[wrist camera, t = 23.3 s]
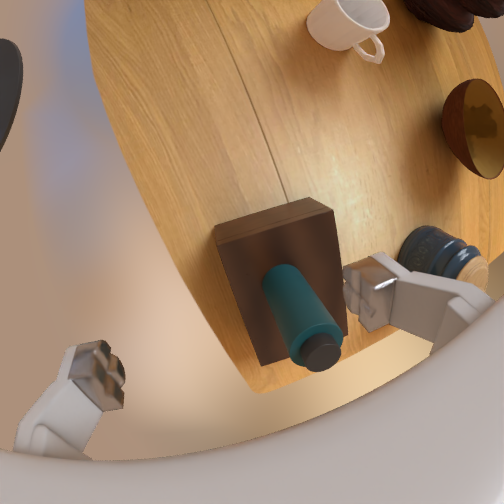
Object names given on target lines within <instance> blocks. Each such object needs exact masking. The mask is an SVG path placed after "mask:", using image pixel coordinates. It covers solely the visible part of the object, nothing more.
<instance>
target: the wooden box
mask: <svg viewBox="0 0 504 504" xmlns="http://www.w3.org/2000/svg"><path fill="white" fill-rule="evenodd" d="M214 227H215V236H216V244H217V249H218V251H219V254H220V257H221V260H222V263H223V266H224V268H225V271H226V274H227V277H228V280H229V282H230V285H231V288H232V291H233V294H234V296H235V299H236V302H237V304H238V307H239V310H240V313H241V315H242V318H243V321H244V323H245V326H246V329H247V331H248V334H249V336H250V339H251V342H252V344H253V347H254V349H255V352H256V355H257V357H258V360H259V362H260V365H261V366H265V365H268V364H271V363H274V362H277V361H280V360H283V359H286V358H289V357H290V356H289V353H288V351H287V348H286V346H285V343H284V341H283V338H282V336H281V334H280V331H279V329H278V326H277V324H276V321H275V319H274V316H273V314H272V311H271V309H270V306H269V304H268V301H267V299H266V296H265V294H264V291H263V288H262V282H263V279H264V277H265V275H266V273H267V272H268V271H269V270H270V269H272V268H273V267H275V266H277V265H281V264H289V265H292V266H294V267H296V268H297V269H298V270H299V271H300V273H301V274H302V275H303V277H304V278H305V279H306V281H307V282H308V284H309V285H310V286H311V288H312V289H313V291H314V292H315V293H316V295H317V296H318V298H319V299H320V300H321V302H322V303H323V305H324V306H325V308H326V309H327V310H328V312H329V313H330V315H331V316H332V317H333V319H334V320H335V322H336V323H337V325H338V326H339V327H340V329H341V331H342V333H343V337H345V336H347V335H348V326H347V313H346V304H345V302H344V298H343V291H342V288H343V286H344V282H343V277H342V265H341V257H340V250H339V243H338V236H337V229H336V223H335V217H334V211H333V209H331V208H329V207H327V206H325V205H323V204H322V203H320V202H318V201H316V200H314V199H312V198H310V197H308V198H304V199H301V200H297V201H294V202H290V203H287V204H284V205H280V206H277V207H273V208H270V209H267V210H264V211H260V212H257V213H254V214H250V215H247V216H244V217H241V218H238V219H234V220H231V221H228V222H225V223H222V224H219V225H216V226H214Z"/></svg>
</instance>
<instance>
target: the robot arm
mask: <svg viewBox="0 0 504 504" xmlns="http://www.w3.org/2000/svg"><path fill="white" fill-rule="evenodd" d="M342 277H343V278H344V279H345V280H346V282H345V284H344V286H343V288H342V291H343V298H344V302H345V304H346V306H347V308H348V309H349V310H350V312H351V313H354V314H357V315H359V319H358V321H359V322H360V323H361V324H362V326H363V327H364V328H365V329H366V330H367V331H368V332H369V333H370V332H372V331H374V330H376V329H378V328H380V327H382V326H385V325H387V324H390V325H392V326H394V327H397V328H399V329H402V330H404V331H406V332H409V333H411V334H413V335H416V336H418V337H421V338H423V339H425V340H428V341H430V342H433V343H434V344H433V346H432V349H431V352H430V355H429V356H428V357H427V358H426V359H424V360H423V361H421V362H420V363H418V364H417V365H415V366H414V367H412V368H410V369H409V370H407V371H406V372H404V373H402V374H401V375H399V376H397V377H396V378H394V379H392V380H391V381H389V382H387V383H385V384H384V385H382V386H380V387H378V388H376V389H374V390H373V391H371V392H369V393H367V394H365V395H363V396H361V397H359V398H357V399H355V400H353V401H351V402H349V403H347V404H345V405H342V406H340V407H338V408H336V409H334V410H332V411H329V412H327V413H325V414H322V415H320V416H317V417H315V418H313V419H310V420H307V421H305V422H302V423H300V424H297V425H294V426H291V427H289V428H286V429H283V430H280V431H277V432H274V433H271V434H268V435H265V436H261V437H258V438H254V439H251V440H247V441H244V442H240V443H236V444H232V445H228V446H223V447H219V448H215V449H210V450H205V451H200V452H194V453H188V454H182V455H175V456H167V457H159V458H149V459H137V460H115V461H114V460H113V461H93V460H92V459H91V458H90V457H88V456H87V455H85V454H84V453H82V452H83V450H84V449H85V447H86V445H87V442H88V441H89V439H90V437H91V435H92V433H93V431H94V429H95V428H96V425H97V424H98V422H99V420H100V418H101V416H102V414H103V412H104V411H111V410H117V409H123V403H124V392H123V391H122V389H121V387H122V386H123V385H124V383H125V371H124V367H123V365H122V363H121V361H120V360H119V358H118V357H117V356H115V355H113V354H111V353H110V352H111V347H110V346H109V345H108V343H107V342H106V341H104V340H98V341H94V342H89V343H84V344H80V345H75V346H70V347H68V348H67V349H66V352H65V354H64V357H63V360H62V363H61V366H60V369H59V373H58V376H57V380H56V381H54V382H52V383H51V384H50V386H49V387H48V388H47V389H46V390H45V392H44V393H43V394H42V395H41V396H40V398H39V399H38V400H37V401H36V402H35V403H34V405H33V406H32V407H31V408H30V409H29V411H28V412H27V413H26V414H25V416H24V417H23V418H22V419H21V421H20V422H19V424H18V428H17V432H16V437H15V442H14V447H13V451H8V450H4V449H0V504H504V294H503V295H502V296H501V297H500V298H499V299H498V300H497V301H494V300H493V299H492V298H491V297H489V296H488V295H487V294H485V293H484V292H483V291H482V290H480V289H479V288H478V287H476V286H475V285H474V284H472V283H468V282H463V281H459V280H454V279H450V278H445V277H440V276H435V275H431V274H426V273H421V272H416V271H413V272H409V271H408V270H407V269H405V268H404V267H403V266H401V265H400V264H399V263H397V262H396V261H395V260H393V259H392V258H390V257H389V256H388V255H386V254H385V253H384V252H378V253H375V254H373V255H370V256H368V257H367V258H364V259H362V260H359V261H356V262H354V263H351V264H348V265H346V266H343V270H342Z"/></svg>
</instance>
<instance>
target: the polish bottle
mask: <svg viewBox="0 0 504 504" xmlns="http://www.w3.org/2000/svg"><path fill="white" fill-rule="evenodd" d="M262 288H263V291H264V294H265V296H266V299H267V301H268V304H269V306H270V309H271V311H272V314H273V316H274V319H275V321H276V324H277V326H278V329H279V331H280V334H281V336H282V338H283V341H284V343H285V346H286V348H287V351H288V353H289V356H290V358H291V360H292V361H293V362H294V363H295V364H297V365H299V366H303V367H306V368H307V369H308V370H310V371H312V372H321V371H324V370H326V369H329V368H331V367H332V366H333V365H335V364H336V363H337V361H338V360H339V358H340V356H341V349H340V347H341V345H342V342H343V333H342V331H341V329H340V327H339V326H338V325H337V323H336V322H335V320H334V319H333V317H332V316H331V315H330V313H329V312H328V310H327V309H326V308H325V306H324V305H323V303H322V302H321V300H320V299H319V298H318V296H317V295H316V293H315V292H314V291H313V289H312V288H311V286H310V285H309V284H308V282H307V281H306V279H305V278H304V277H303V275H302V274H301V273H300V271H299V270H298V269H297V268H296V267H294V266H292V265H289V264H281V265H277V266H275V267H273V268H272V269H270V270H269V271H268V272H267V273H266V275H265V277H264V279H263V282H262Z"/></svg>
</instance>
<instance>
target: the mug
mask: <svg viewBox="0 0 504 504" xmlns="http://www.w3.org/2000/svg"><path fill="white" fill-rule="evenodd" d="M389 23H390V16H389V12H388V9H387V7H386V6H385V4H384V3H383V1H382V0H322V1H321V2H320V3H319V4H318V5H317V6H316V7H315V8H314V9H313V10H312V11H311V13H310V14H309V15H308V17H307V22H306V24H307V28H308V31H309V33H310V34H311V36H312V37H313V38H314V39H315V40H316V41H317V42H318V43H319V44H321V45H322V46H324V47H325V48H328V49H331V50H336V51H343V50H347V49H349V48H351V47H353V48H354V49H355V50H356V52H357V53H358V54H359V55H360V56H361V57H362V58H363V59H364V60H366V61H370V62H373V63H377V64H380V63H381V62H382V60H383V57H384V55H385V52H384V47H383V44H382V43H381V41H380V40H379V38H378V37H377V36H376V34H378V33H380V32H382V31H384V30H385V29H387V27H388V25H389ZM368 38H371V39H372V41H373V42H374V44H375V47H376V51H377V52H376V54H375V56H373V55H369V54H367V53H366V52H365V51H364V50H363V49H362V48H361V47H360V46H359V45H358V43H360V42H362V41H364V40H366V39H368Z"/></svg>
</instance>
